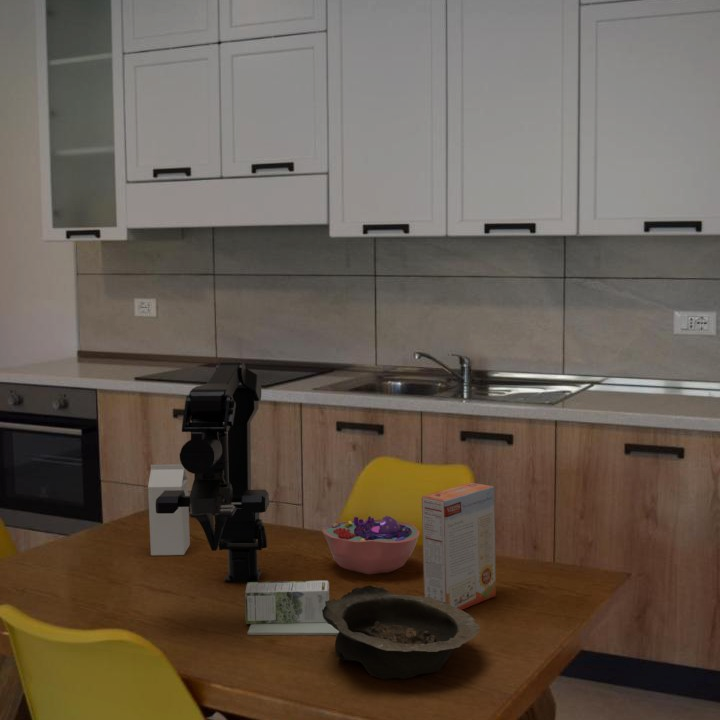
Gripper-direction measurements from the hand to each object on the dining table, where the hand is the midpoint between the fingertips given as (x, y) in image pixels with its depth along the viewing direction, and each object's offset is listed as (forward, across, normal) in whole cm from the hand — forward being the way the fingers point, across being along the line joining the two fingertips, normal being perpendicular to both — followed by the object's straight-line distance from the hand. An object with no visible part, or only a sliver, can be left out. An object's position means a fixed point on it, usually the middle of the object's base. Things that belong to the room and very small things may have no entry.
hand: (214, 550), depth 179 cm
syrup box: (+10, +5, 0) cm, 11 cm away
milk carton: (+13, -18, +42) cm, 48 cm away
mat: (+13, +14, 0) cm, 19 cm away
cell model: (+13, +26, +28) cm, 41 cm away
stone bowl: (+13, +32, -17) cm, 38 cm away
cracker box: (+13, +43, +9) cm, 45 cm away
